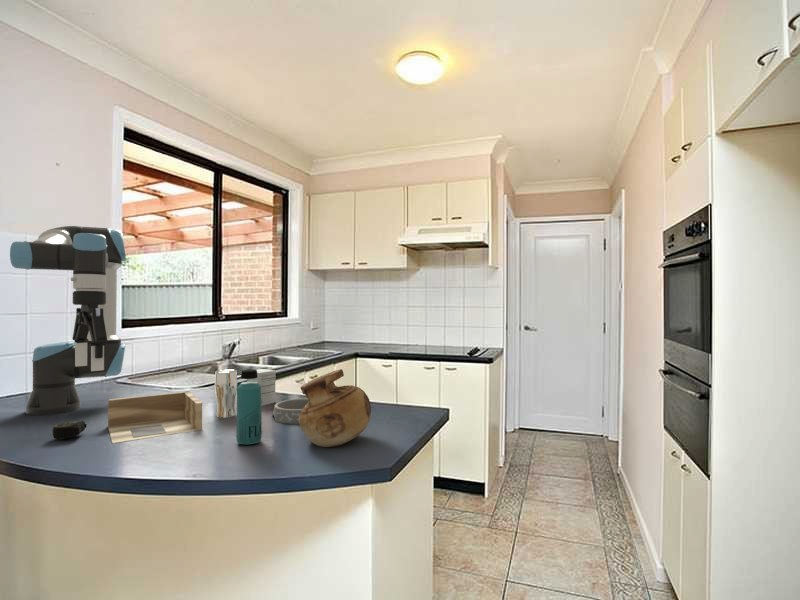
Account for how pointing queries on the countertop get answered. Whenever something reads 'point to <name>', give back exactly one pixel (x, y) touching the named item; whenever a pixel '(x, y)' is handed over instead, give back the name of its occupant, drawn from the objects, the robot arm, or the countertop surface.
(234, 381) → the white piece
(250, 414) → the beverage bottle
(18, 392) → the countertop surface
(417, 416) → the countertop surface
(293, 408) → the dog bowl
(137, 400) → the corner tray
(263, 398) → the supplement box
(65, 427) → the tape measure
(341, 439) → the clay pot
